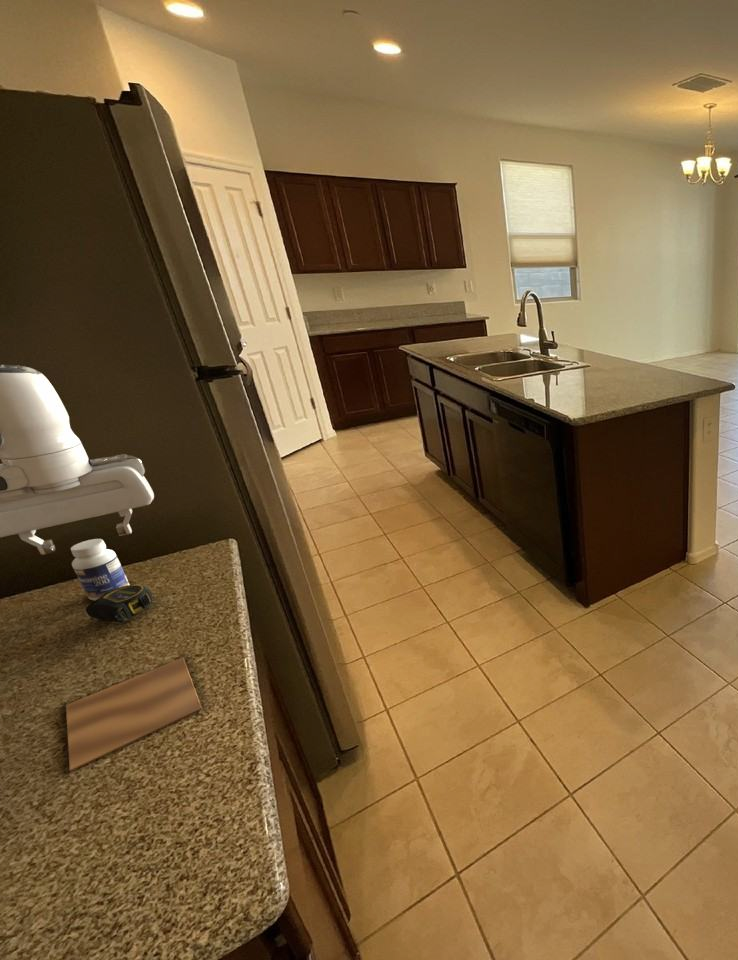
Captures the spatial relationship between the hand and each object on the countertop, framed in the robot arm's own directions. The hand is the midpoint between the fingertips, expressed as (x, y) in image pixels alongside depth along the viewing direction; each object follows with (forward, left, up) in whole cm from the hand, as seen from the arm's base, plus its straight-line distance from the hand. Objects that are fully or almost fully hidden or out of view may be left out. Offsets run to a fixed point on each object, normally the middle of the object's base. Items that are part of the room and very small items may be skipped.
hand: (88, 542), depth 88 cm
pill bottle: (0, 0, -10) cm, 10 cm away
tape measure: (+6, -9, -10) cm, 15 cm away
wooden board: (+18, -34, -10) cm, 40 cm away
